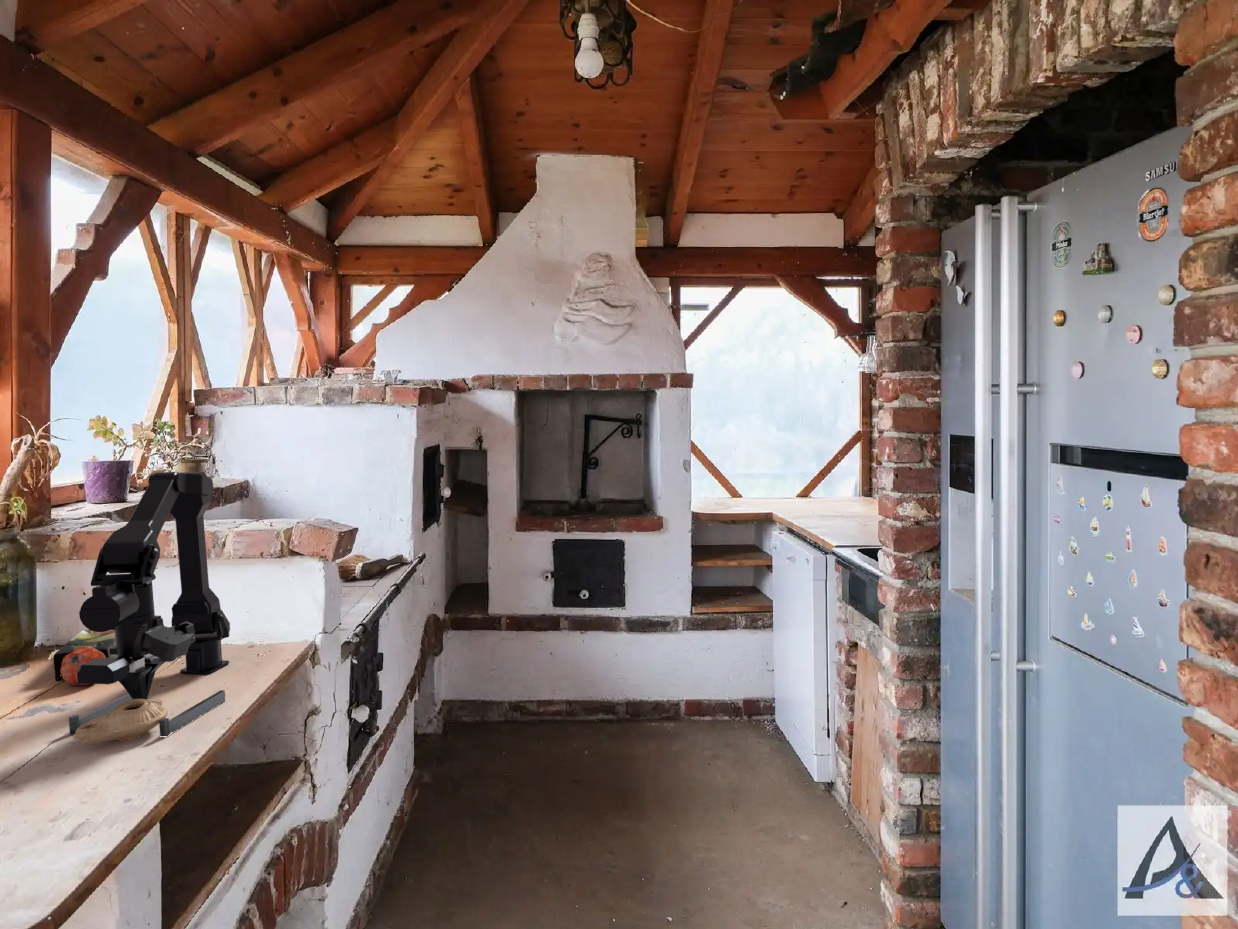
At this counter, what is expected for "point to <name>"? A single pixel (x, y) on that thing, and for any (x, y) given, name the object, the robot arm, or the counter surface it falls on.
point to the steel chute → (164, 724)
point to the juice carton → (85, 638)
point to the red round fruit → (78, 662)
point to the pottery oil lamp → (123, 721)
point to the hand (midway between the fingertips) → (141, 705)
